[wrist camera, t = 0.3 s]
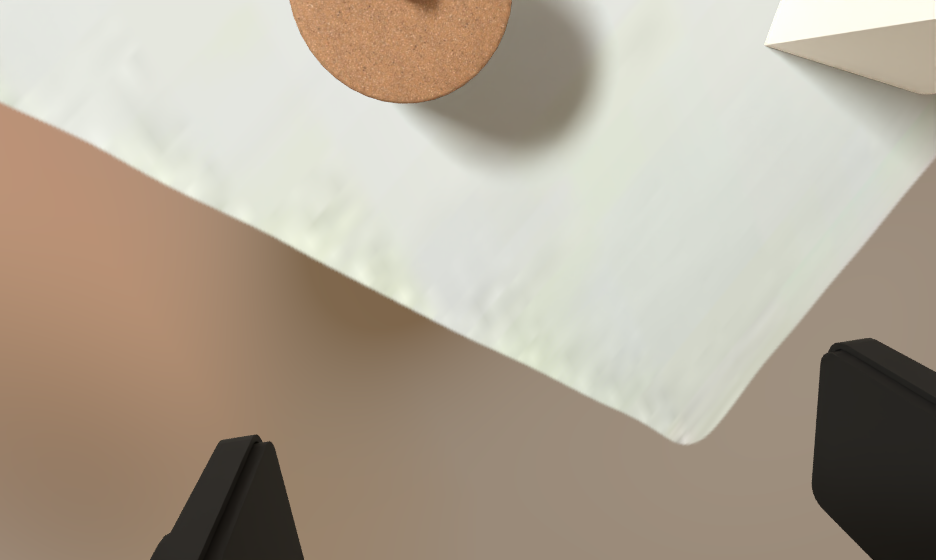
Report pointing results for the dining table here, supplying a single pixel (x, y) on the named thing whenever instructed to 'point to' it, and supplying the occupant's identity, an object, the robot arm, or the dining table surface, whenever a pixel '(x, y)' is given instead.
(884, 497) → the robot arm
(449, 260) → the dining table surface
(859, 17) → the milk
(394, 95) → the lidded jar
